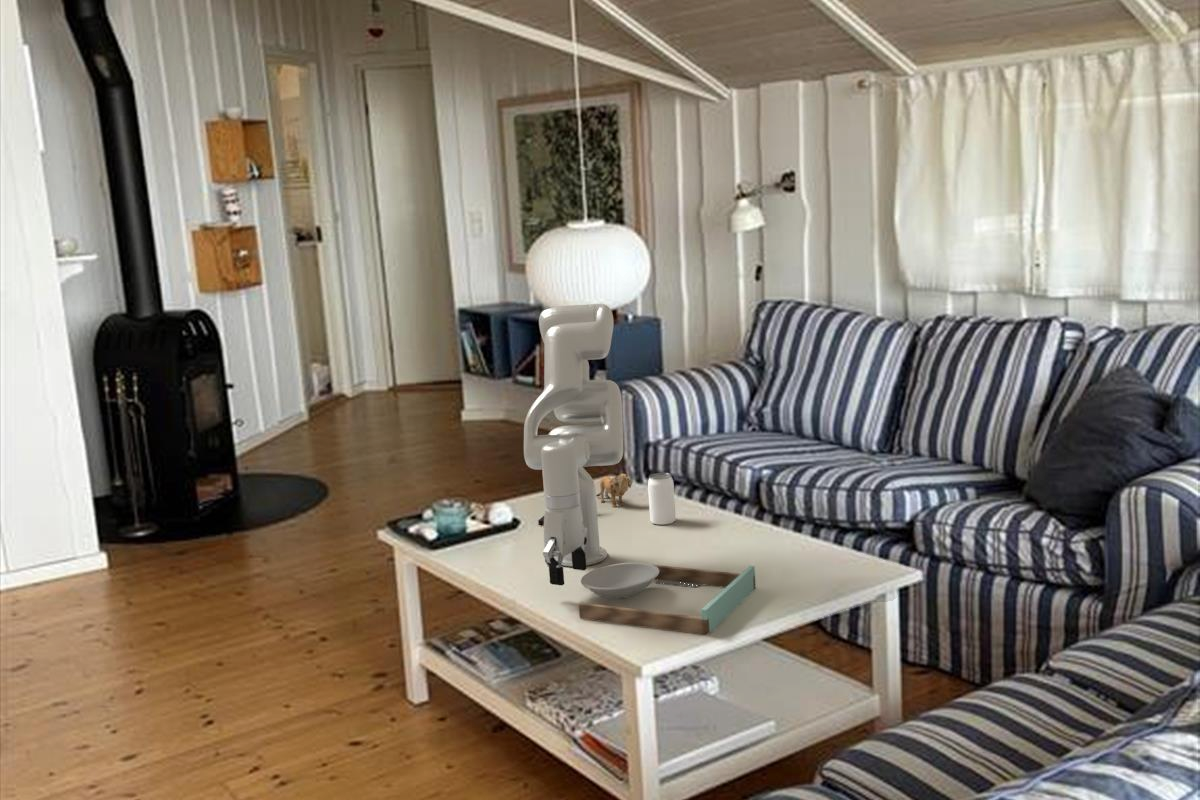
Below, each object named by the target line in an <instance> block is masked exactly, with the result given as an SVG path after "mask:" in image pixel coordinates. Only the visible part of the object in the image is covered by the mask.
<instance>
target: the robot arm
mask: <svg viewBox="0 0 1200 800" xmlns="http://www.w3.org/2000/svg"><path fill="white" fill-rule="evenodd" d="M538 326H539V327H538V328H539V332H540V335H541V339H542V341H543V345H544V352H543V353H544V372H543V373H544V374H543V375H544V376H543V377H544V378H543V379H544V380H543V381H544V382H543V383H544V388H543V391H542V392H541V394H540V395H539V396H538V397H537V398H536V399H535V400H534V402H533V403H532V405H531V407H530V408H529V410H528V412H527V414H526V417H525V420H524V423H523V424H524V425H523V426H524V427H523V457H524V461H525V463H526V466H528V468H530V469H532V470H538V471H540V470H542V481H543V482H542V483H543V494H544V495H543V497H544V505H545V506H544V507H545V509H544V515H543V516H544V526H543V547H544V550H543V551H542V555H543V557H544V561H545V564H546V565H547V566H546V567H548V574H549V583H550V584H551V585H555V586H564V585H565V576H564V573H565V572H564V567H563V566H565V567H572V570H579V571H586V570H587V566H590V565H595V564H598V563H600V562H603V561H604V560H606V558H607V557H608V552H607V549H606V548H604V547H603V546H600V531H599V519H598V507H597V496H596V495H597V494H596V484H595V482H594V479H593V477H592V476H591V475H590V473H588V472H587V470H586V469H585V467H586V468H587V467H598V466H599V467H601V466H614V465H617V464H619V463H620V462H621V460H622V458H623V456H624V428H623V427H624V426H623V425H624V422H623V418H624V417H623V401H622V399H623V398H622V392H621V390H620V387H619V385H618V384H617V383H616V382H615V381H613V380H611V379H601V380H600V379H597V380H596V379H594V380H590V364H589V361H590V360H602V359H605V358H606V357H607V356H609V352H610V350H611V344H612V338H613V332H614V315H613V311H612V309H611V308H610V307H609V306H608V305H607V304H604V303H592V304H573V305H571V304H569V305H568V304H567V305H559V306H553V307H549V308H546V309H544V310H542V311H541V313H540V314H539V318H538ZM551 412H553V414H554V416H555V417H556V419H557V420H559V421H561V422H563V423H587V422H601V423H595V424H592V423H591V424H574V425H573V424H572V425H561V426H558V427H555V428H553V429H552V430H551V431H550V432H548V434H539V435H538V429H539V425H540V423H541V422H542V420H544V418H545V417H546V416H547V415H548V414H549V413H551Z"/></svg>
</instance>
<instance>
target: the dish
mask: <svg viewBox="0 0 1200 800" xmlns="http://www.w3.org/2000/svg"><path fill="white" fill-rule="evenodd" d="M654 565H655V564H652V565H651V563H648V562H647V563H646V562H620V563H614V564H609V565H605V566H601V567H598V568H596V569H595V568H594V569H593V570H591V571H588V572H587V573H585V574H584V575H583V576H582V577H581V579H580V584H581V585H582V586H583V587H584V588H587V589H588V590H589V591H591V592H592V593H594V594H595V595H597V596H600V597H602V598H605V599H619V600H624V599H626V598H629V597H632V596H635V595H637V594H640V593H641V592H643V591H644V590H645V589H646V588H648V587H649V586H650V584H652V582H653V581H654V580H655V578H656V577H657V576H658V575H659V569H658V568H657V567H656V566H654Z"/></svg>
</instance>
